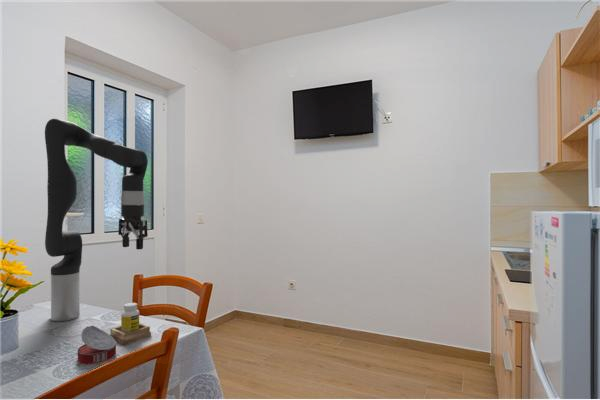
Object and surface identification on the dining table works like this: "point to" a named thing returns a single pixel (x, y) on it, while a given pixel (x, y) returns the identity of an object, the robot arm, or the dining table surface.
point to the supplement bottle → (130, 318)
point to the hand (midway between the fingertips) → (132, 248)
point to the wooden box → (130, 334)
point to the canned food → (96, 346)
